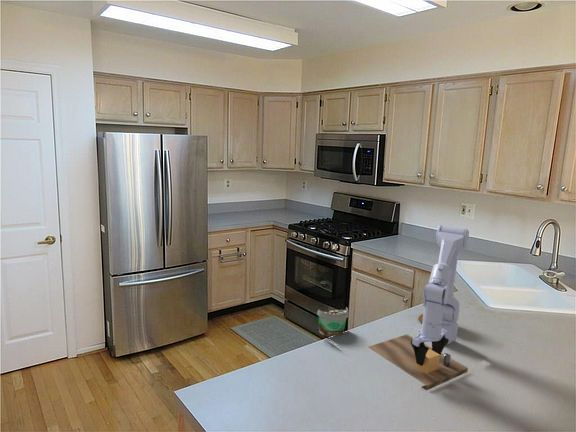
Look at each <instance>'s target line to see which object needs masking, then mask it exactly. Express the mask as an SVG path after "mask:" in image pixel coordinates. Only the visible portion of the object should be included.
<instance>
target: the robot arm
mask: <svg viewBox="0 0 576 432" xmlns="http://www.w3.org/2000/svg"><path fill="white" fill-rule="evenodd" d="M469 236H470V231H469V229H468V228H460V227H453V226H445V225H442V224H441V225H439V226H438V227H437V229H436V235H435V241H436V243H437V246H438V247H439V248H440V251H439V256H438V262H437V263H435V264H433V266H432V270H431V272H430V276H429V280H428V283H426V284H425V286H424V288H423V296H422V297H423V298H422V299H423V305H422V306H423V307H424V308H423V312H422V314H423V322H421V328H419V329H418V332H419V333H417V335H416V336H415V337H414V336H413V340H412V341H411V345H412V347H413V349H414V353H415V357H416V363H417V364H419V365H420V366H423V364H424V360H425V356H426V353H427V351H428V350H429V348H428V347H426V346H425V345H424V344H425V343H431V348H432V351H434V352H436V353H438V354H440V355H441V353H442V352H443V350H444V348H445V347H446V346H447V345H449V344H451V343H452V342H457V336H458V329H459V327H458V324H457V322H458V319H459V315H460V301H459V300H458V299H457V298H456V297H455V296H454V294H453V292H454V288H455V287H454V286H455V279H456V272H457V266H458V265H457V264H458V259H459V255H460V253H461V252H465V251H466V250H467V247H468V242H469V238H470V237H469ZM452 294H453V295H452ZM442 354H443V353H442Z"/></svg>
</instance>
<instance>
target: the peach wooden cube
mask: <svg viewBox="0 0 576 432" xmlns="http://www.w3.org/2000/svg"><path fill="white" fill-rule="evenodd" d="M439 358H440V354H438V353H436V352H434V351H432V350H431V349H429V350H428V351H427V353H426V356H425V360H424V364H423V366H420V365H419V364H417V363H416V360H415V366H417V367H418V368H420V369H422V370H423V371H425V372H426V373H430V372H432V371H435V370H437V369H438V366H439Z"/></svg>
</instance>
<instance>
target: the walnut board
mask: <svg viewBox="0 0 576 432" xmlns="http://www.w3.org/2000/svg"><path fill="white" fill-rule="evenodd" d="M413 338H414V336H413V337H412V336H410V335H409V334H403V335H400V336H397V337H394V338H391V339H388V340H385V341H382V342H378V343H376V344H373V345H368V346H367V348H369V349H370V350H371V351H373V352H374V353H377V354H378V355H379V356H381V357H382V358H384V359H385V360H387V361H389V362H390V363H391V364H393V365H395V366H396V367H397V368H398V369H401V370H402V371H404V372H405V373H406V374H409V375H410V376H411V377H413V378H414V379H416V380H417V381H419V382H421V383H422V384H423V386H421V388H422V389H424V390H425V391H428V390H430V389H432V388H435V387H437V386H439V385H441V384H444V383H447V382H448V381H450V380H452V379H455V378H457V377H459V376H462V375H463V374H466V373H468V370H469V367H468V366H465V365H463V364H461V362H458V361H457V360H454V359H453V358H451V357H450V365H449V366H448V367H446V366H444V365H443V358H444V354H445V353H441V355H440V358H439V366H438V369H437V370H435V371H432V372H430V373H426V372H425V371H423V370H422V369H420V368H418V367H417V366H415V360H416V357H415V353H414V349H413V347H412V345H411V341H412V340H413ZM424 345H425V346H426V347H428V348H429V349H431V350H432V346H429V345H427V344H425V343H424Z"/></svg>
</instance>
